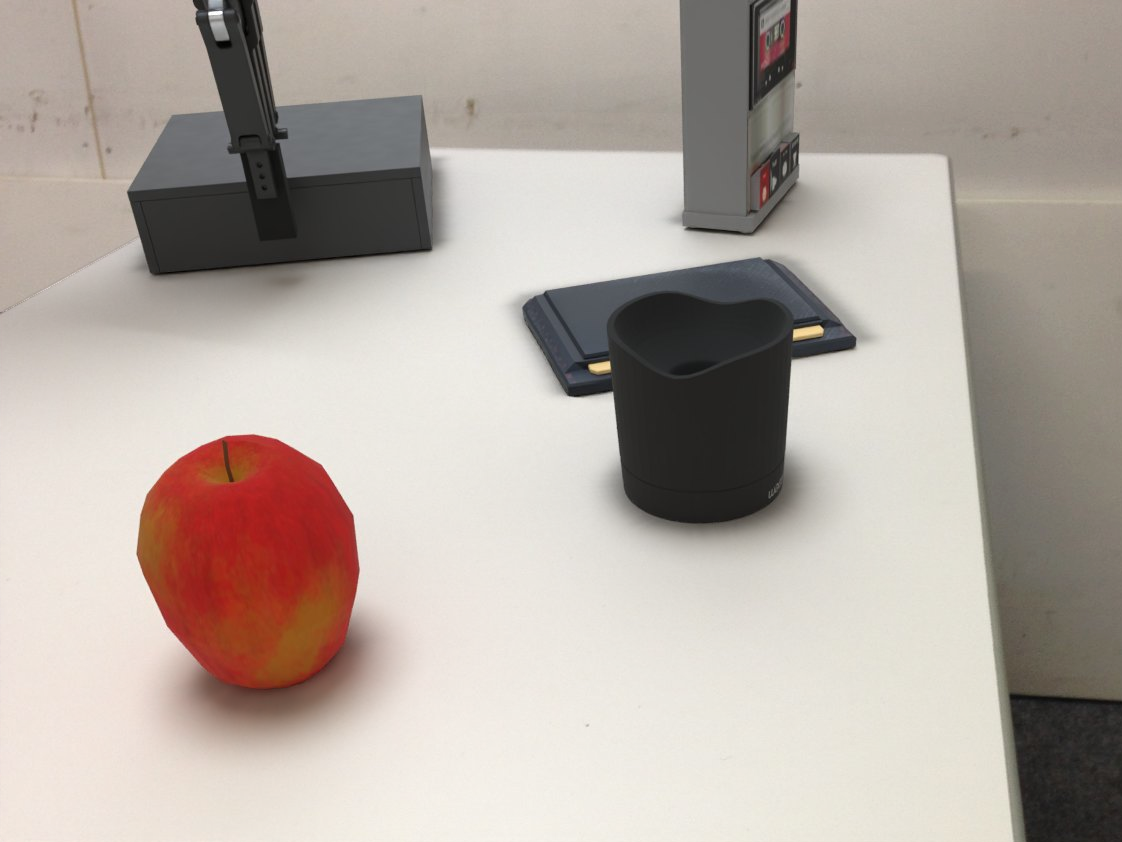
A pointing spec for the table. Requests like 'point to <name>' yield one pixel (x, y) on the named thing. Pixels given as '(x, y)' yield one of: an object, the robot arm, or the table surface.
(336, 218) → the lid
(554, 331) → the wallet
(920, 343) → the table surface
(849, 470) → the table surface
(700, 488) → the pen holder
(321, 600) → the apple
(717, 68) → the cassette tape recorder
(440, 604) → the table surface
